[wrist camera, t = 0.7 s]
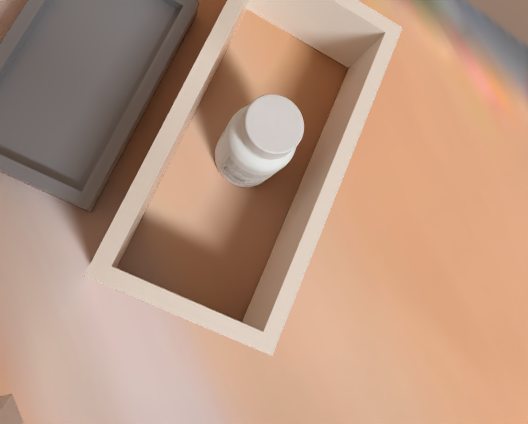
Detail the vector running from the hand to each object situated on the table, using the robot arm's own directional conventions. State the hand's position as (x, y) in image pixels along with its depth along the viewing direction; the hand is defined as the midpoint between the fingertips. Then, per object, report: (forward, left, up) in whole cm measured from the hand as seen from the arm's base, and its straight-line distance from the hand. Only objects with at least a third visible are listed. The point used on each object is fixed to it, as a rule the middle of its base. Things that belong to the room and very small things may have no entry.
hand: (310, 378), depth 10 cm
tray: (+11, +14, -20) cm, 27 cm away
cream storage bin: (+11, +2, -20) cm, 23 cm away
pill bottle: (+11, +2, -20) cm, 23 cm away
